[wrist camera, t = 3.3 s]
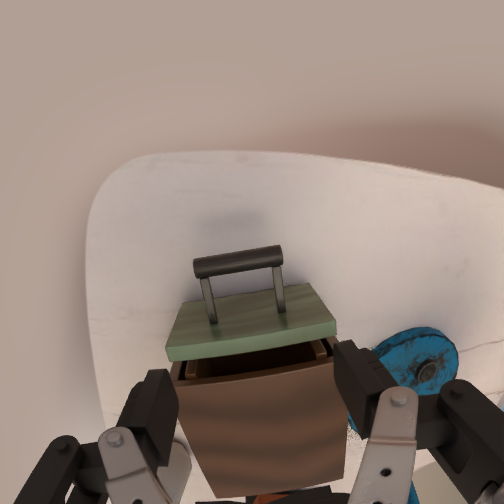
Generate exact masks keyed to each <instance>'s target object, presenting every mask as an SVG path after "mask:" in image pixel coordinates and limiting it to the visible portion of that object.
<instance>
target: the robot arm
mask: <svg viewBox="0 0 504 504" xmlns="http://www.w3.org/2000/svg"><path fill="white" fill-rule="evenodd" d="M333 369H334V380H335V384H336V387H337V389H338V391H339V393H340V395H341V397H342V399H343V401H344V403H345V405H346V408H347V410H348V412H349V414H350V416H351V418H352V420H353V422H354V424H355V427H356V429H357V431H358V433H359V435H360V437H361V439H362V440H363V439H366V438H368V441H367V444H366V448H365V451H364V455H363V458H362V461H361V465H360V468H359V471H358V474H357V477H356V480H355V483H354V486H353V489H352V492H351V494H349V493H332V491H331V488H330V485H328V486H323V487H319V488H315V489H310V490H305V491H300V492H296V493H293V494H291V495H288V496H285V497H283V498H280V499H277V500H274V501H271V502H268V503H265V504H407V501H408V497H409V492H410V486H411V481H412V475H413V469H414V462H415V455H416V450H420V449H428V450H429V452H430V453H431V454H432V456H433V457H434V458H435V460H436V461H437V462H438V464H439V465H440V466H441V468H442V469H443V470H444V472H445V473H446V474H447V476H448V477H449V478H450V479H451V481H452V482H453V484H454V485H455V486H456V487H457V489H458V490H459V492H460V493H461V494H462V496H463V497H464V498H465V500H466V501H467V503H468V504H504V412H503V411H502V410H500V409H499V408H498V407H497V406H496V405H495V404H494V403H493V402H492V401H490V400H489V399H488V398H487V397H486V396H485V395H484V394H482V393H481V392H480V391H479V390H478V389H477V388H476V387H474V386H473V385H472V384H471V383H470V382H468V381H465V380H462V379H454V380H450V381H447V382H446V383H444V384H443V385H442V386H441V388H440V392H439V393H436V394H429V395H417V393H416V392H415V391H414V390H412V389H410V388H408V387H402V386H399V384H398V383H397V382H396V380H395V379H394V378H393V376H392V375H391V374H390V372H389V371H388V370H387V368H386V367H384V364H383V363H382V362H381V361H380V359H379V358H378V357H377V355H376V354H375V353H374V352H372V351H370V350H368V349H367V348H362V349H358V348H357V346H356V345H355V344H354V342H353V341H352V340H351V339H350V340H346V341H342V342H337V343H334V344H333ZM178 412H179V401H178V397H177V394H176V391H175V388H174V386H173V383H172V380H171V377H170V374H169V372H168V370H167V369H154V370H149V371H148V373H147V375H146V377H145V380H144V382H138V383H137V384H136V385H135V386H134V387H133V388H132V389H131V392H130V394H129V396H128V399H127V401H126V403H125V406H124V408H123V410H122V413H121V415H120V417H119V420H118V422H117V425H116V427H113V428H110V429H108V430H106V431H105V432H103V433H102V434H101V435H100V437H99V439H98V442H93V443H88V444H81V445H80V443H79V442H78V440H77V439H76V438H75V437H73V436H69V435H64V436H60V437H58V438H56V439H54V440H53V441H52V442H51V443H50V444H49V446H48V448H47V449H46V451H45V452H44V454H43V455H42V457H41V459H40V460H39V462H38V464H37V465H36V467H35V468H34V470H33V471H32V473H31V475H30V476H29V478H28V480H27V481H26V483H25V485H24V486H23V488H22V490H21V491H20V493H19V495H18V497H17V498H16V500H15V502H14V504H65V496H66V494H67V492H68V490H69V488H70V486H71V484H72V483H73V484H74V485H75V486H74V488H73V490H72V492H71V494H70V496H69V498H68V500H67V503H66V504H106V502H107V500H108V497H110V500H111V503H112V504H174V502H173V501H172V499H171V497H170V496H169V494H168V492H167V491H166V489H165V487H164V485H163V484H162V482H161V480H160V478H159V476H158V475H157V469H158V467H168V464H169V458H170V453H171V448H172V443H173V437H174V432H175V427H176V422H177V417H178ZM369 437H370V438H369ZM195 504H252V503H242V502H234V501H211V502H195Z"/></svg>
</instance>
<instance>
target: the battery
mask: <svg viewBox="0 0 504 504" xmlns="http://www.w3.org/2000/svg"><path fill="white" fill-rule="evenodd" d="M288 495H291V490H288V491H282V492H276V493H269V494H262V495H253V496H245V497H246V503H252V504H265V503H268V502H271V501H274V500H277V499H280V498H283V497H285V496H288Z"/></svg>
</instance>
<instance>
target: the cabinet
mask: <svg viewBox="0 0 504 504" xmlns="http://www.w3.org/2000/svg"><path fill="white" fill-rule="evenodd" d="M320 341H321V343H322V345H323V346H324V348H325V350H326V352H327V358H323V359H318V360H313V361H309V362H304V363H299V364H294V365H289V366H283V367H278V368H272V369H266V370H260V371H254V372H247V373H241V374H234V375H226V376H218V377H210V378H201V379H191V380H186V377H185V372H186V368H187V363H188V360H185V361H175V362H173V364H172V368H171V371H170V377H171V380H172V383H173V386H174V388H175V391H176V394H177V397H178V401H179V412H178V420H179V422H180V424H181V427H182V429H183V431H184V434H185V436H186V438H187V440H188V442H189V445H190V447H191V449H192V451H193V453H194V455H195V457H196V460H197V462H198V464H199V466H200V468H201V470H202V472H203V474H204V476H205V478H206V480H207V482H208V483H209V485H210V487H211V489H212V491H213V493H214V495H215V497H216V498H232V497H244V496H253V495H262V494H269V493H276V492H282V491H288V490H294V489H299V488H304V487H309V486H314V485H318V484H323V483H327V482H331V481H335V480H338V479H342V478H343V475H344V465H345V454H346V440H347V424H348V410H347V408H346V405H345V403H344V401H343V399H342V397H341V395H340V393H339V391H338V389H337V387H336V384H335V380H334V369H333V344H334V343H337V342H339V341H338V340H337V338H336V337H335V336H331V337H327V338H322V339H320Z"/></svg>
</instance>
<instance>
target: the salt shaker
mask: <svg viewBox="0 0 504 504" xmlns="http://www.w3.org/2000/svg"><path fill="white" fill-rule="evenodd" d="M191 469H192V464H191V459H190V457H189V455H188V453H187V452H186V450H185V448H184V447H183V445H182V444H180V443H177V442H174V441H173V443H172V448H171V453H170V458H169V464H168V467H158V469H157V475H158V476H159V478H160V480H161V482H162V484H163V485H164V487H165V489H166V491H167V492H168V494H169V496H170V497H171V499H172V501H173V502H174V504H179V503H180V500H181V497H182V494H183V492H184V489H185V486H186V483H187V480H188V477H189V475H190V472H191Z"/></svg>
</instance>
